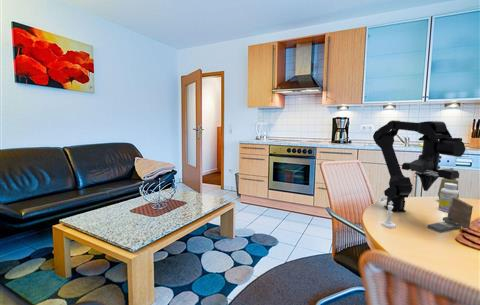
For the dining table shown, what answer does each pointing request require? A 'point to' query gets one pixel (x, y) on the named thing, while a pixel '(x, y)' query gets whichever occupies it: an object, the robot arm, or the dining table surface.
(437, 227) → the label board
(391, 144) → the robot arm
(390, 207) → the chess piece
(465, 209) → the walnut gate
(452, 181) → the squeeze bottle
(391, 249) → the dining table surface
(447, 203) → the supplement bottle
